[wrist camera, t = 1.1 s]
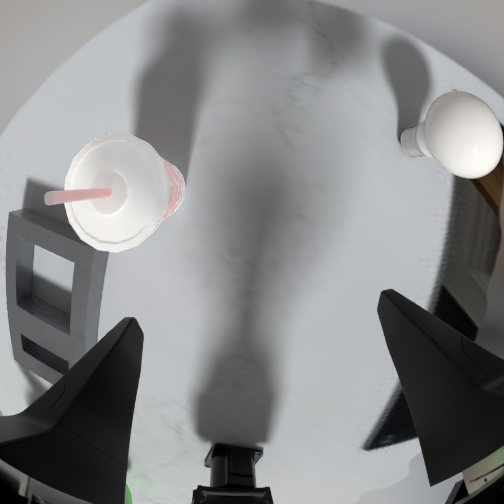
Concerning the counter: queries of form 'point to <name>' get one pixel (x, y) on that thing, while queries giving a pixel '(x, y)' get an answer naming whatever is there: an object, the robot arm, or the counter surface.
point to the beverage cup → (118, 192)
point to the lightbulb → (458, 135)
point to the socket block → (39, 312)
